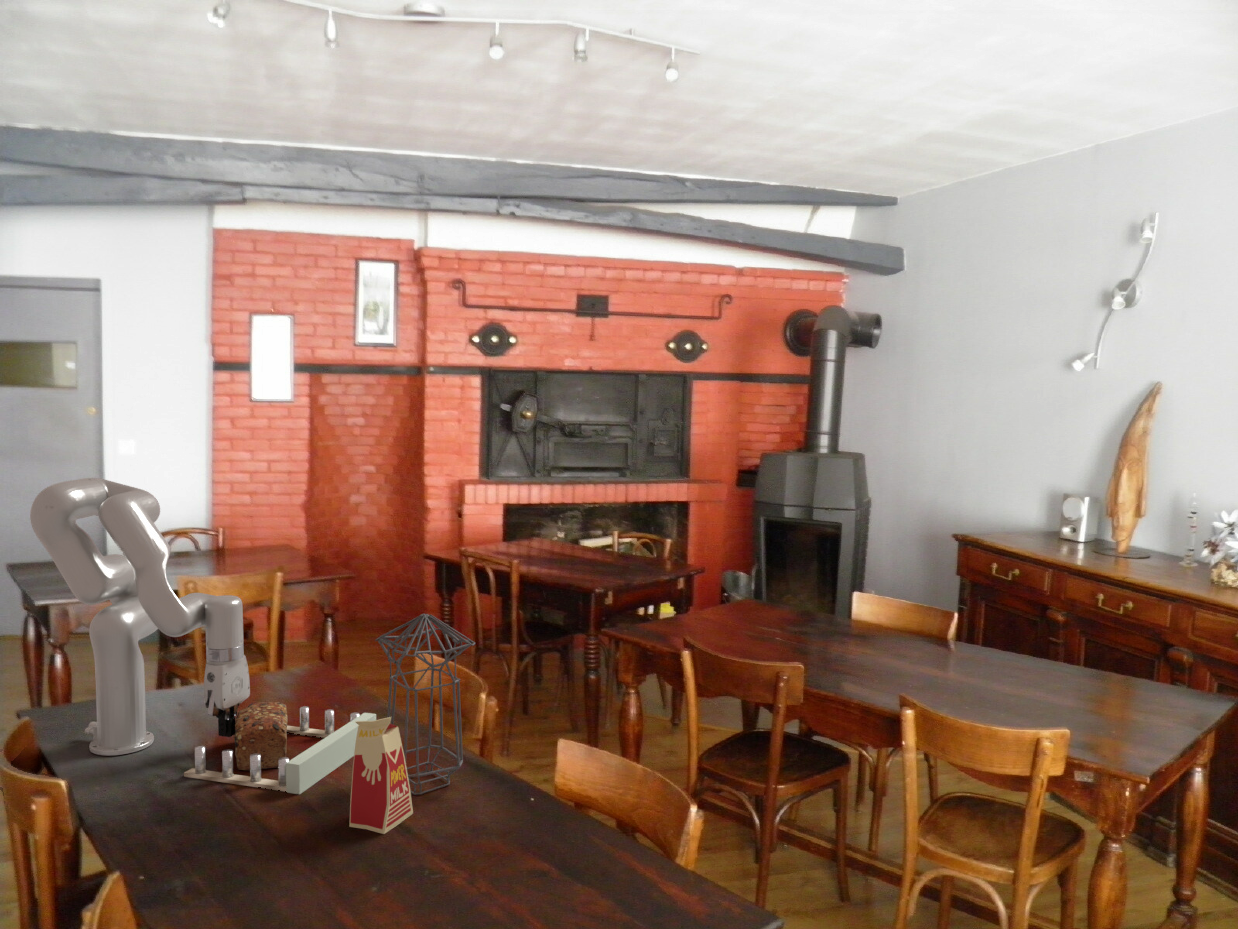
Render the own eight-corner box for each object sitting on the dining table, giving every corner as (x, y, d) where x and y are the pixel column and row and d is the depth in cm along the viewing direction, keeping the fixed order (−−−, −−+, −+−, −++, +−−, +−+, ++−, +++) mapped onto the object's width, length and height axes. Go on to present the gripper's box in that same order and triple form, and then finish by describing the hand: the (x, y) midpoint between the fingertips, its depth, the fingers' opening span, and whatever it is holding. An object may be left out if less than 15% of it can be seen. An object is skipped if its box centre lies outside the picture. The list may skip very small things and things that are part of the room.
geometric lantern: (372, 780, 195) (371, 611, 192) (441, 762, 204) (441, 601, 201) (406, 807, 182) (406, 628, 179) (478, 787, 192) (479, 617, 189)
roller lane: (182, 777, 194) (182, 748, 194) (272, 726, 223) (272, 701, 222) (299, 794, 187) (299, 765, 187) (376, 739, 216) (376, 714, 216)
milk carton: (413, 813, 180) (413, 710, 178) (385, 835, 172) (385, 727, 170) (371, 805, 183) (371, 704, 181) (342, 826, 174) (342, 720, 173)
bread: (287, 768, 200) (287, 722, 199) (232, 774, 196) (232, 727, 196) (288, 736, 217) (288, 693, 217) (238, 741, 214) (237, 697, 213)
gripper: (217, 664, 199) (219, 749, 200) (261, 645, 213) (263, 725, 215) (186, 661, 201) (189, 746, 202) (232, 642, 215) (234, 721, 217)
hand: (227, 735), depth 209 cm, fingers closed
